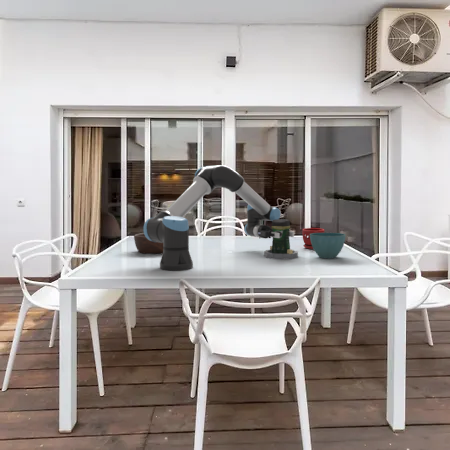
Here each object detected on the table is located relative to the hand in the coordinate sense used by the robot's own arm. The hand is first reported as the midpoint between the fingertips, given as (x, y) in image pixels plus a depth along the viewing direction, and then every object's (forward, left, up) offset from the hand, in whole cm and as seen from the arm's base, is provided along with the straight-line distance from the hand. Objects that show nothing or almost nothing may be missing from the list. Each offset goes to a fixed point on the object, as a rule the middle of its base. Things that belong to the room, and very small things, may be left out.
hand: (286, 235), depth 210 cm
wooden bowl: (+2, +77, -12) cm, 78 cm away
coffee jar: (+3, +3, -11) cm, 12 cm away
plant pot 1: (+38, -11, -12) cm, 42 cm away
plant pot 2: (+6, -21, -12) cm, 25 cm away
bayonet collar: (+3, +3, -12) cm, 13 cm away
